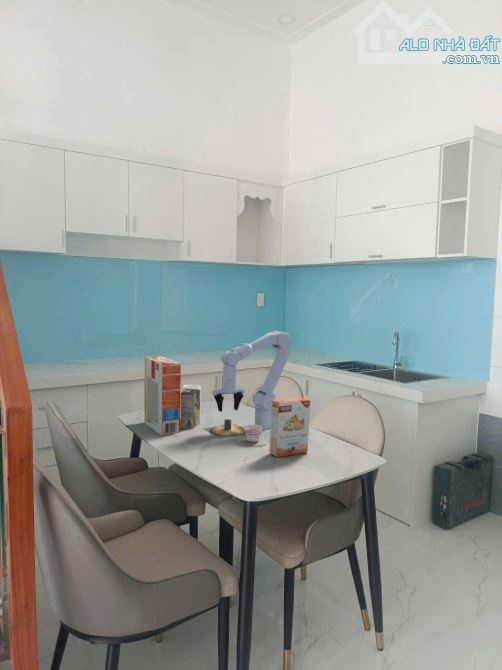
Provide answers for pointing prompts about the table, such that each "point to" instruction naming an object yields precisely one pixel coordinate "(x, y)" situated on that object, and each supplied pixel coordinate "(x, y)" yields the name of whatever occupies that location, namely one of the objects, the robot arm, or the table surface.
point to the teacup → (253, 433)
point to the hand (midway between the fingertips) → (228, 410)
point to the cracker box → (289, 426)
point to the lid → (227, 429)
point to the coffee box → (190, 408)
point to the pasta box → (162, 395)
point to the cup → (196, 387)
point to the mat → (219, 435)
